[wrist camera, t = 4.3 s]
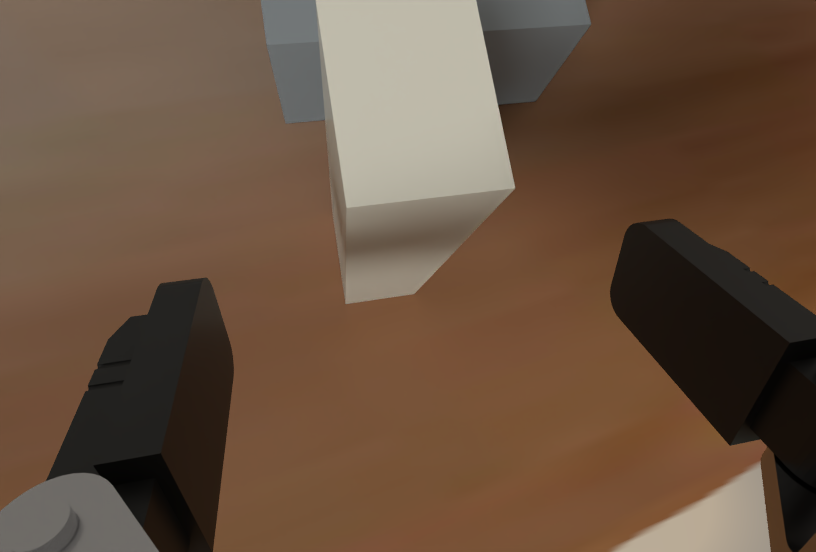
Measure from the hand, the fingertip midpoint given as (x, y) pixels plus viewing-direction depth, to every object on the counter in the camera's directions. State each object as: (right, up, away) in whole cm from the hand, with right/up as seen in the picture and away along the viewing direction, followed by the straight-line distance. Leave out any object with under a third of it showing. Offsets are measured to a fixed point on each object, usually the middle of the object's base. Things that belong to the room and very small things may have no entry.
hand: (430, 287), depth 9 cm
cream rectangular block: (-2, +1, +12) cm, 12 cm away
